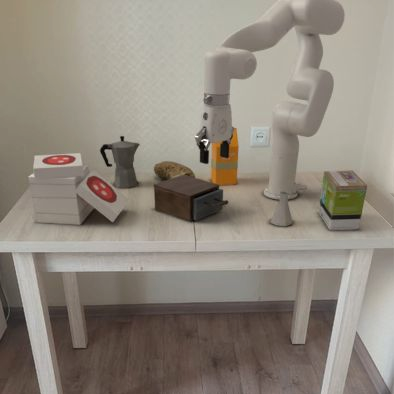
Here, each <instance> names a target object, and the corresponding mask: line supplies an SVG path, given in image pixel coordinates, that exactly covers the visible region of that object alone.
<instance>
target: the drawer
mask: <svg viewBox="0 0 394 394" xmlns="http://www.w3.org/2000/svg"><path fill="white" fill-rule="evenodd" d="M228 204H229V200H228V199H226V200H224V189H223V188H219V190H216V189H214V190H211V191H209V192H206V193H203V194H201V195H198V196H195V197H193V198H192V217H193V216H194V221H199V220H201V219H203V218H205V217H207V216H208V217H209V216H210V215H212V214H215V213H217V212H219V211H222V210H223V207H224V206H226V205H228Z"/></svg>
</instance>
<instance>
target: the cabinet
mask: <svg viewBox="0 0 394 394" xmlns="http://www.w3.org/2000/svg"><path fill="white" fill-rule="evenodd" d="M214 189H216V190H219V189H220V185H218V184H214V183H213V182H211V181H208V180H203V179H201V178H197V177H195V178H194V177H190V176H187V175H181V176H178V177H175V178H172V179H169V180H167V179H165V180H163V181H160V182H157V183H153V195H154V210H155V211H158V212H161V213H164V214H166V215H169V216H173V217H176V218H178V219H181V220H183V221H186V222H189V223H192V222H193V221H194V222H195V220H194V216H193V217H192V198H193V197H195V196H198V195H201V194H203V193H206V192H209V191H211V190H214Z"/></svg>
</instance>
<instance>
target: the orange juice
mask: <svg viewBox="0 0 394 394" xmlns="http://www.w3.org/2000/svg"><path fill="white" fill-rule="evenodd" d="M234 128H235V130H234V133H233V137H232V139H231V144H230V145H229V158H224V157H221V156H220V145H221V143H222V142H218V143H211V157H210V158H211V159H210V170H211V171H210V180H211V181H212V182H211V183H214V184H218V185H219V186H229V185H237V183H238V167H239V148H240V147H239V139H238V129H237V127H234Z"/></svg>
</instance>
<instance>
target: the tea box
mask: <svg viewBox="0 0 394 394" xmlns="http://www.w3.org/2000/svg"><path fill="white" fill-rule="evenodd" d="M321 184H322V185H321V192H320V198H319V204H318V205H319V206H318V212H317V213H318V214H319V216H320V217H321V220H323V222H324V224H325V225H326V226H327V228H328V230H329V231H348V230H349V231H351V230H359V229H360V225H361V218H362V214H363V209H364V204H365V198H366V194H367V190H368V184H366V182H365V181H363V179H361V177H360V176H359V175H358V174H357V173H356V172H355V171H354V170H327V171H323V178H322V183H321Z"/></svg>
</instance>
